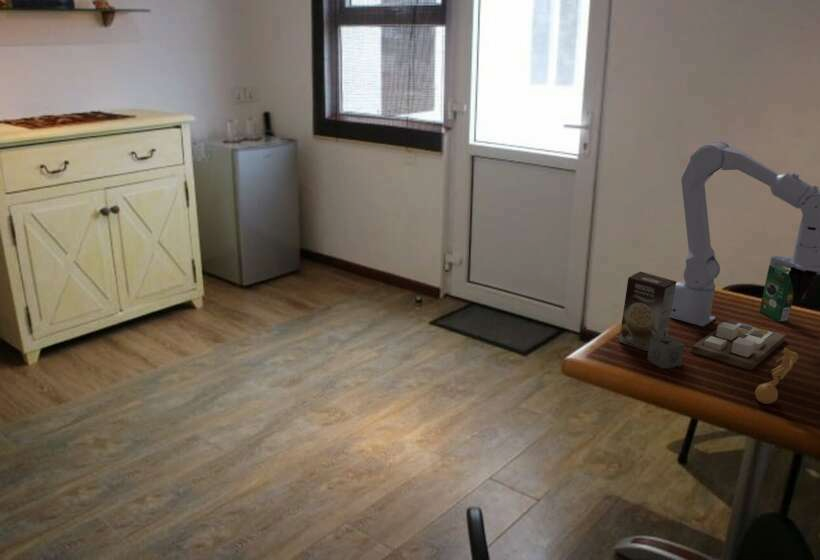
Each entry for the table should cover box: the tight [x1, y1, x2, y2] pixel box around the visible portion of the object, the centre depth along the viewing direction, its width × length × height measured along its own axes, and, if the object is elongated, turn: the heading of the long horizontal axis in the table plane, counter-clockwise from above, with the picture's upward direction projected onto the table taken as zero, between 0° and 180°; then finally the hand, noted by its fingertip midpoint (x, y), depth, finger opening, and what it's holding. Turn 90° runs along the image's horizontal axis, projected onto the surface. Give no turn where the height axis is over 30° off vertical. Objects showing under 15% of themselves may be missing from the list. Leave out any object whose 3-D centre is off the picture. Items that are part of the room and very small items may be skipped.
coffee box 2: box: [759, 264, 794, 323], centre depth 185 cm, size 8×3×13 cm, turn 13°
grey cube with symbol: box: [646, 335, 685, 370], centre depth 158 cm, size 5×5×5 cm
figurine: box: [754, 347, 799, 405], centre depth 140 cm, size 8×6×12 cm
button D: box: [731, 337, 756, 358], centre depth 160 cm, size 4×4×3 cm
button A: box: [716, 321, 739, 342], centre depth 169 cm, size 4×4×3 cm
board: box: [691, 319, 787, 371], centre depth 168 cm, size 13×23×2 cm, turn 137°
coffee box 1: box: [618, 271, 677, 353], centre depth 165 cm, size 9×6×16 cm
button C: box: [704, 336, 728, 351], centre depth 164 cm, size 4×4×3 cm
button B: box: [744, 335, 765, 350], centre depth 165 cm, size 4×4×3 cm
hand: (797, 301), depth 168 cm, fingers closed
